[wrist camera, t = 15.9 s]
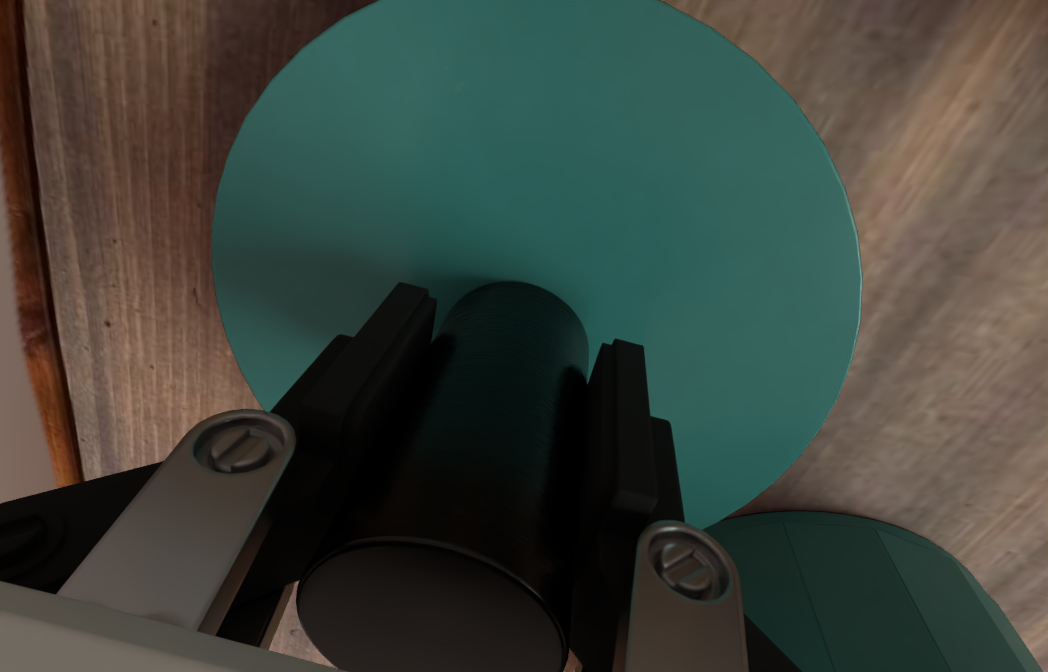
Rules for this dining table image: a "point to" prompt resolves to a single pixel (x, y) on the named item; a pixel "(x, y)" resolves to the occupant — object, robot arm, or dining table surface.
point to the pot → (865, 597)
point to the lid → (529, 292)
